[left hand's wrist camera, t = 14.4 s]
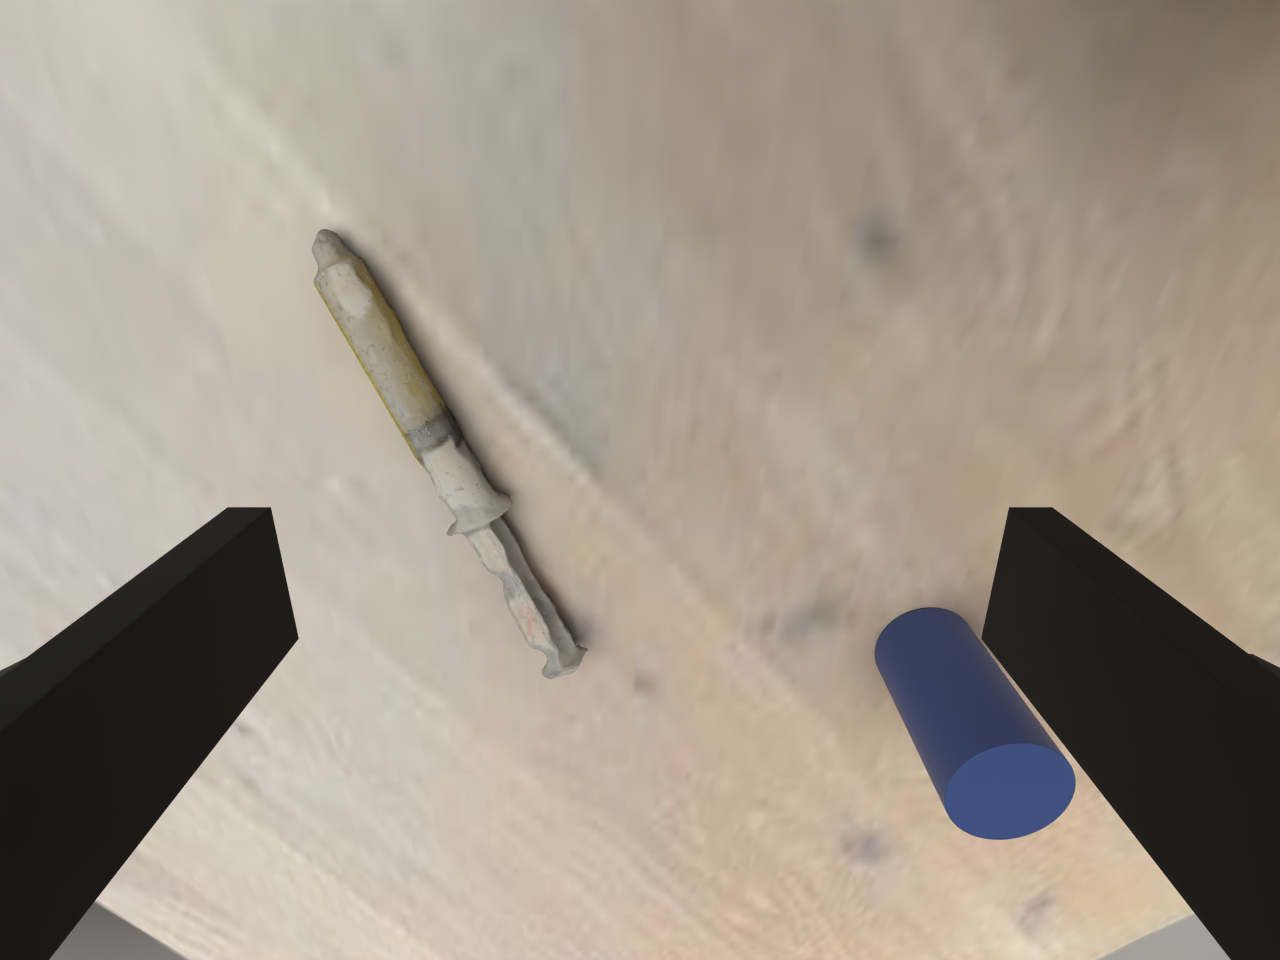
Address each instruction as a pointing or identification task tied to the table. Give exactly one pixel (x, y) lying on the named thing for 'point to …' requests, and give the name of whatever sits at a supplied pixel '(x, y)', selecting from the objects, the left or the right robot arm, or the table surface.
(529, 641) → the syringe
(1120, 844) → the table surface
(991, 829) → the can
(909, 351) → the table surface
